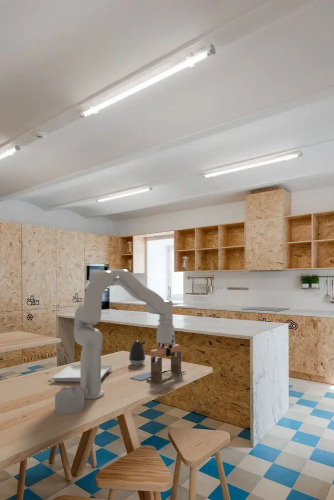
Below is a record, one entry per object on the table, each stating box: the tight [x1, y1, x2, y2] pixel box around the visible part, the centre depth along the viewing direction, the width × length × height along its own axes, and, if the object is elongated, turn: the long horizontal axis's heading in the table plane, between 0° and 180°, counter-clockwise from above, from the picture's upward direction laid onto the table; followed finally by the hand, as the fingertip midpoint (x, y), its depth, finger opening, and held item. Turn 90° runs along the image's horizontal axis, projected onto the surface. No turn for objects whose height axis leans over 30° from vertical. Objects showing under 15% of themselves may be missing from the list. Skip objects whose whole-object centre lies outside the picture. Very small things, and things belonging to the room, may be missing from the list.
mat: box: [130, 371, 151, 382], centre depth 195 cm, size 27×8×1 cm, turn 143°
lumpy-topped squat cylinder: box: [54, 384, 85, 416], centre depth 146 cm, size 10×13×9 cm
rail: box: [149, 343, 181, 358], centre depth 189 cm, size 24×3×3 cm, turn 143°
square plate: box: [51, 364, 114, 383], centre depth 191 cm, size 27×27×4 cm
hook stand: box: [146, 350, 186, 385], centre depth 189 cm, size 25×8×13 cm, turn 143°
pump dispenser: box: [128, 340, 146, 366], centre depth 217 cm, size 10×10×15 cm
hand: (165, 355), depth 189 cm, fingers closed on rail, 3 cm apart
